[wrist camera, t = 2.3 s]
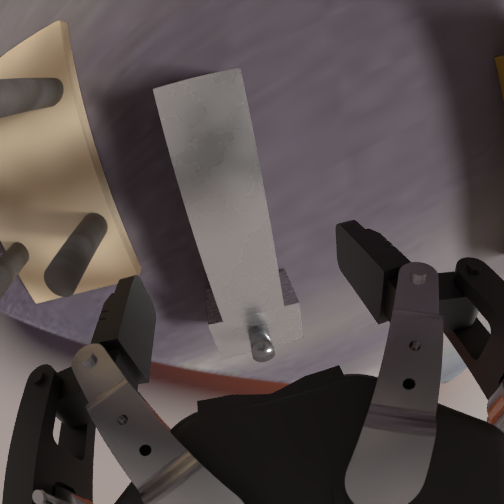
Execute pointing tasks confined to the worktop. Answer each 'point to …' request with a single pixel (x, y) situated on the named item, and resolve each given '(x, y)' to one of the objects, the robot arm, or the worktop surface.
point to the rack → (54, 178)
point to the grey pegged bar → (228, 213)
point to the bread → (500, 72)
